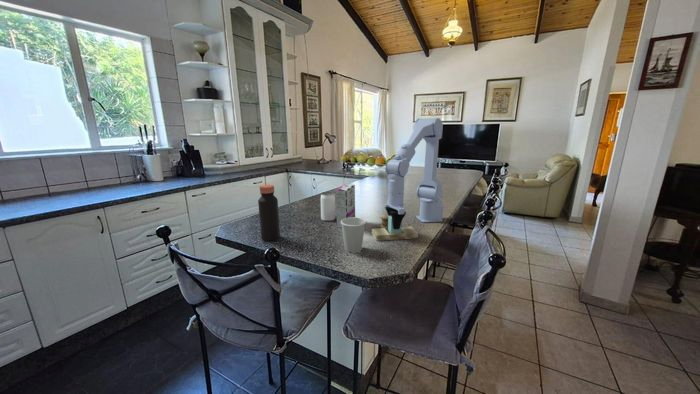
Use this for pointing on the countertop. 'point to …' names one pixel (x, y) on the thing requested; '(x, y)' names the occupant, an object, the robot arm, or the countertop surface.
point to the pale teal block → (390, 226)
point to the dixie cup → (353, 233)
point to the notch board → (394, 234)
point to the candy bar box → (345, 203)
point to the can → (327, 206)
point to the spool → (384, 221)
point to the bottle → (268, 214)
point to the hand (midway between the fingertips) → (394, 226)
